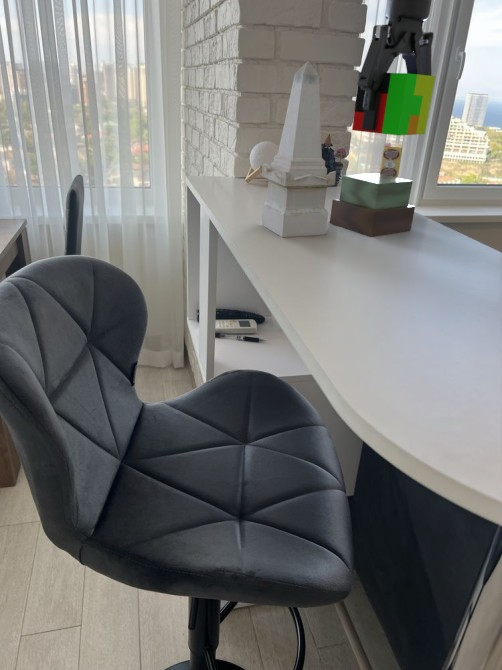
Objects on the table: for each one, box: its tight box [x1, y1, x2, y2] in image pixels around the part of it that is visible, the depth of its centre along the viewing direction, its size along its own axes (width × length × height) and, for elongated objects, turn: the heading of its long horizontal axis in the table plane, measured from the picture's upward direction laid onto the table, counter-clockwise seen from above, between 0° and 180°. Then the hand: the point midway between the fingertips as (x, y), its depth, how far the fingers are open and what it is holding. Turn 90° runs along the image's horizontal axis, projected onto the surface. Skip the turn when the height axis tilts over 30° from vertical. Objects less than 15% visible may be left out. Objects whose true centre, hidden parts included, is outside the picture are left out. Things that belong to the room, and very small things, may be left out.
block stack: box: [329, 172, 416, 238], centre depth 105 cm, size 12×12×10 cm
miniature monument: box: [261, 60, 337, 238], centre depth 95 cm, size 10×10×30 cm
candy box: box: [379, 142, 403, 178], centre depth 117 cm, size 9×4×15 cm, turn 165°
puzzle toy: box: [351, 71, 436, 136], centre depth 96 cm, size 10×10×10 cm
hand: (388, 129), depth 98 cm, fingers closed on puzzle toy, 11 cm apart
